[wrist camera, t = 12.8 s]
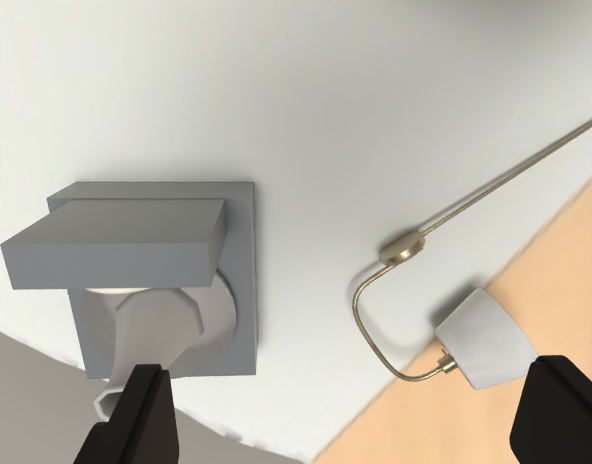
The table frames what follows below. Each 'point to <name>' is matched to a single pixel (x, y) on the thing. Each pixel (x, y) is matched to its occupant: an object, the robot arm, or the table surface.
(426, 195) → the table surface
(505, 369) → the light fixture
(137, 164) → the table surface
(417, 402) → the table surface
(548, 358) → the robot arm
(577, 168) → the table surface
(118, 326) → the flask
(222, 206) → the scale
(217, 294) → the pan
